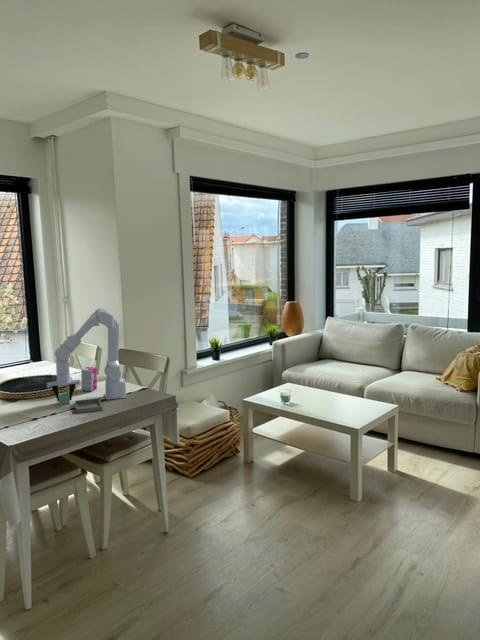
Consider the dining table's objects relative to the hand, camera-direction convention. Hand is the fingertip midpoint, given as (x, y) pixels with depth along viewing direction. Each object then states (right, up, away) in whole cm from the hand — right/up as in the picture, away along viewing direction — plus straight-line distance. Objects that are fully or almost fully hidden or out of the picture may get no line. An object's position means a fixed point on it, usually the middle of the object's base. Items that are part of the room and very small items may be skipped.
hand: (64, 400), depth 229 cm
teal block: (0, -2, 0) cm, 2 cm away
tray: (+13, -3, -4) cm, 14 cm away
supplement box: (+6, +2, +20) cm, 21 cm away
